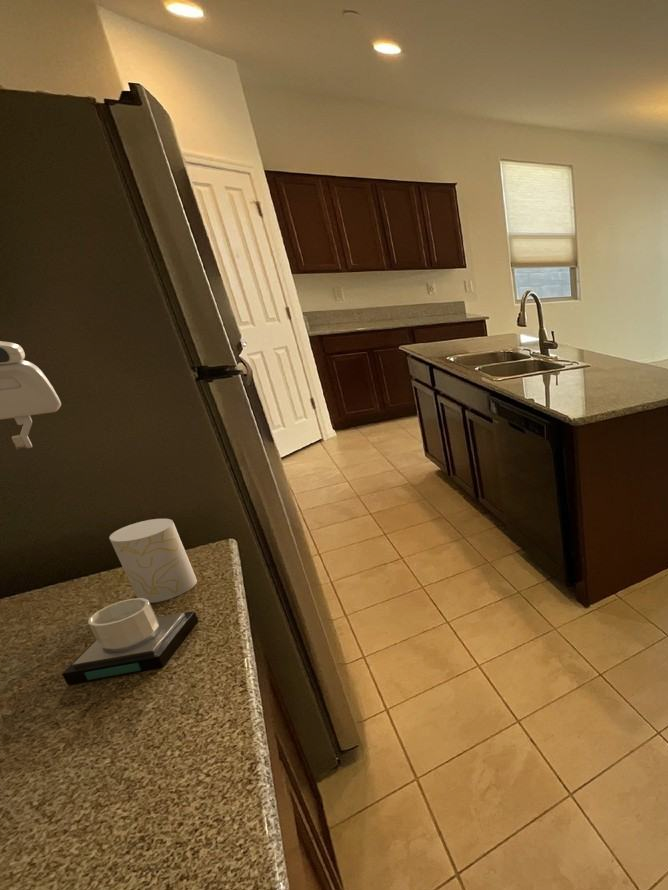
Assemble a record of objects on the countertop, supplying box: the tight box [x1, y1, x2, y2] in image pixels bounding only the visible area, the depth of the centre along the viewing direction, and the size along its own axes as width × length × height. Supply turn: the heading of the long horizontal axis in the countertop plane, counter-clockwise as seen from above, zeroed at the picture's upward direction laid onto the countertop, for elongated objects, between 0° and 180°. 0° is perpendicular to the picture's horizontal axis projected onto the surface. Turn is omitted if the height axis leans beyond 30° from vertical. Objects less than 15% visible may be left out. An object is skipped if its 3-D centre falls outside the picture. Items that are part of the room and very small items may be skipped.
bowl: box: [87, 597, 159, 649], centre depth 76 cm, size 6×6×4 cm
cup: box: [108, 518, 198, 604], centre depth 90 cm, size 8×8×12 cm
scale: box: [61, 610, 199, 686], centre depth 77 cm, size 11×11×3 cm
